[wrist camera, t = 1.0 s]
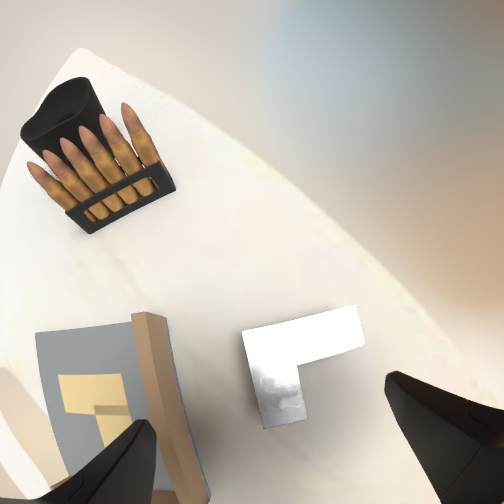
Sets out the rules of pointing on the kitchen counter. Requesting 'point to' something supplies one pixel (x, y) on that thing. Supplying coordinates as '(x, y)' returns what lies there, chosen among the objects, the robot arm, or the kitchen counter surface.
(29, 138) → the pen holder
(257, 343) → the angle bracket
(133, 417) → the arena
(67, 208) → the ammunition clip
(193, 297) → the kitchen counter surface
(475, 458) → the robot arm
